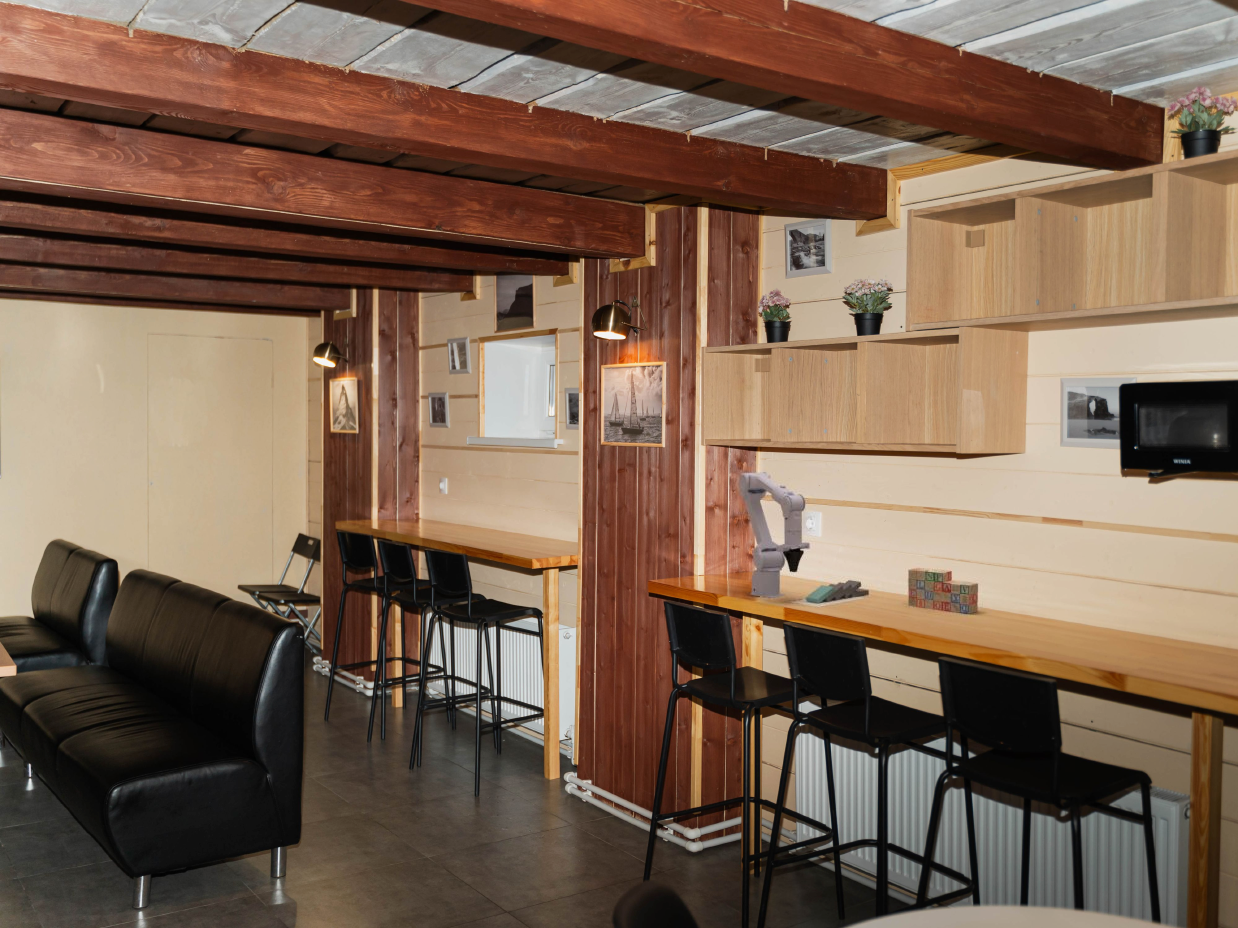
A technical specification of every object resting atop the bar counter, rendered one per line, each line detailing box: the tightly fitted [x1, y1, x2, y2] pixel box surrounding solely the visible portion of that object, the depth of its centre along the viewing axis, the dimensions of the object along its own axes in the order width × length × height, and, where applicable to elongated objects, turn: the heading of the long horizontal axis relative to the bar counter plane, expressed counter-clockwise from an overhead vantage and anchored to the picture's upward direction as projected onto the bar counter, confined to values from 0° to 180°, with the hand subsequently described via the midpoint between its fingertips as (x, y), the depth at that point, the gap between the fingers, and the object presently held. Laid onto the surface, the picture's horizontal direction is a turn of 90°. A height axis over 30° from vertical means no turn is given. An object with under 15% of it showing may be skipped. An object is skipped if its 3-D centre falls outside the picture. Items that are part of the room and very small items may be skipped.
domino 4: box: [842, 579, 862, 598], centre depth 363 cm, size 2×5×9 cm
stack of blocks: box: [907, 567, 979, 615], centre depth 342 cm, size 21×6×12 cm, turn 45°
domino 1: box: [805, 584, 835, 604], centre depth 354 cm, size 2×5×9 cm
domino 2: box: [823, 583, 843, 602], centre depth 357 cm, size 2×5×9 cm
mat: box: [790, 596, 865, 608], centre depth 357 cm, size 12×25×1 cm, turn 130°
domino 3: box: [831, 581, 852, 601], centre depth 360 cm, size 2×5×9 cm
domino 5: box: [848, 588, 870, 598], centre depth 366 cm, size 2×5×9 cm
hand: (793, 571), depth 354 cm, fingers closed
